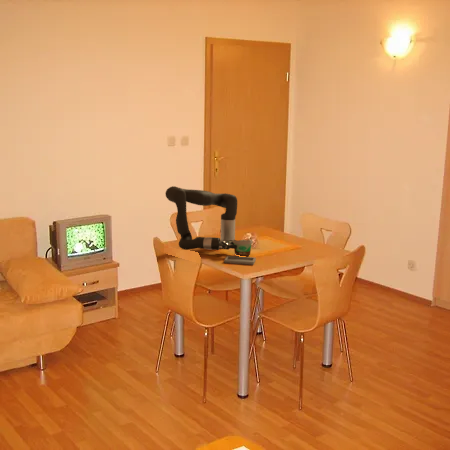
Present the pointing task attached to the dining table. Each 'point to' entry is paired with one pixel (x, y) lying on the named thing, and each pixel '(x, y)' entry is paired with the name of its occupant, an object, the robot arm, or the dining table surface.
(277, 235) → the dining table surface
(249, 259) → the tray
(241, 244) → the food container
